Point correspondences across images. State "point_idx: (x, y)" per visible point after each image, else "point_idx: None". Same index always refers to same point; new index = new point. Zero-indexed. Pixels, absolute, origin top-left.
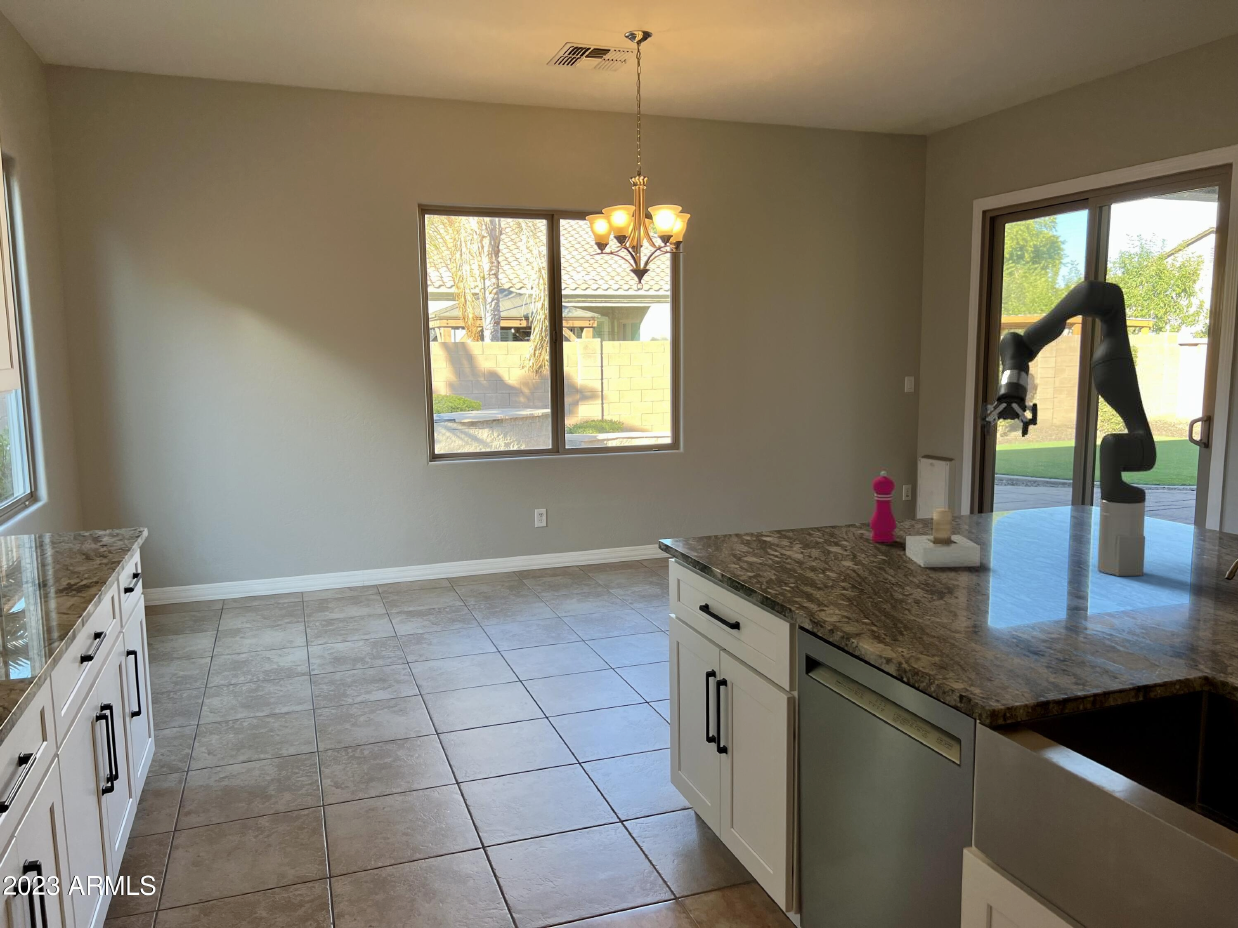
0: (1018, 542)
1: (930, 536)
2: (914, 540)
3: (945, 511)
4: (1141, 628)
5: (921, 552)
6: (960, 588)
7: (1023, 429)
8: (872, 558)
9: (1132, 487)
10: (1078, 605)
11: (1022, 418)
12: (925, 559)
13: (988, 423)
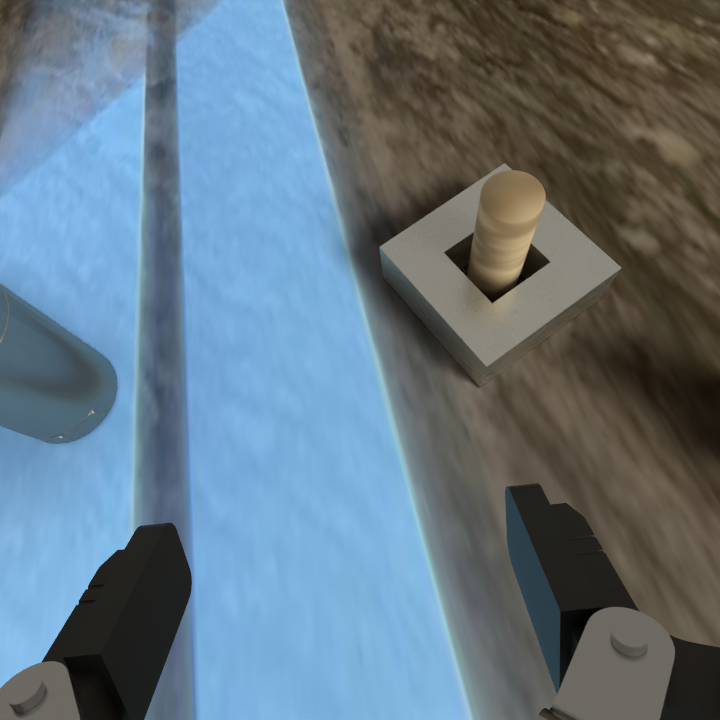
0: (362, 672)
1: (554, 299)
2: (568, 227)
3: (496, 184)
4: (75, 53)
5: None
6: (364, 97)
7: (137, 547)
8: (651, 216)
9: None
10: (158, 107)
11: (77, 716)
12: None
13: (581, 573)
